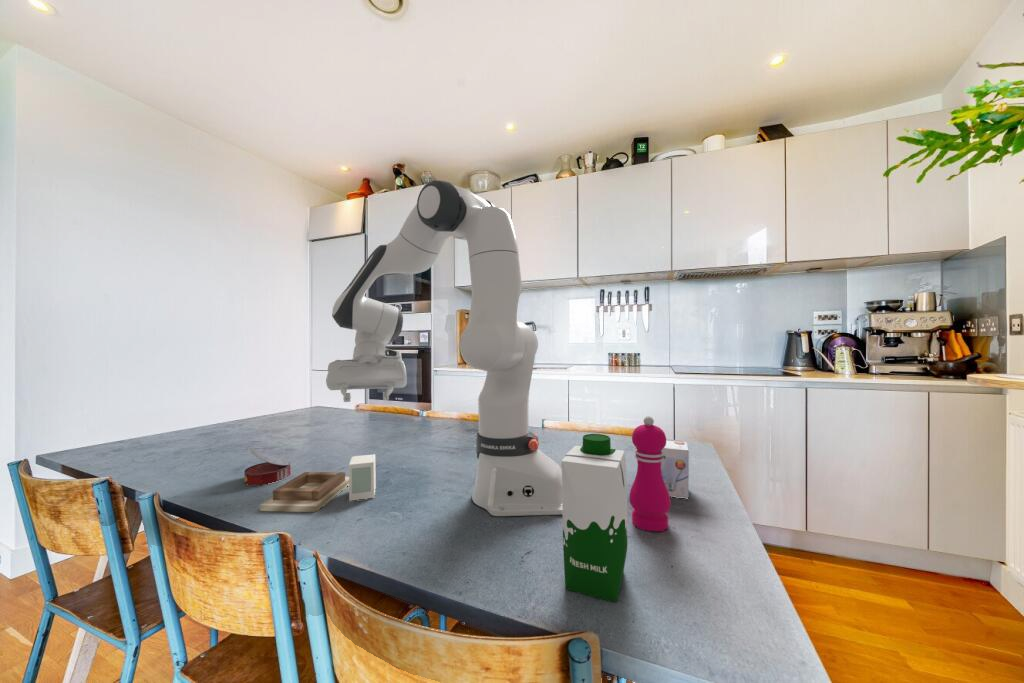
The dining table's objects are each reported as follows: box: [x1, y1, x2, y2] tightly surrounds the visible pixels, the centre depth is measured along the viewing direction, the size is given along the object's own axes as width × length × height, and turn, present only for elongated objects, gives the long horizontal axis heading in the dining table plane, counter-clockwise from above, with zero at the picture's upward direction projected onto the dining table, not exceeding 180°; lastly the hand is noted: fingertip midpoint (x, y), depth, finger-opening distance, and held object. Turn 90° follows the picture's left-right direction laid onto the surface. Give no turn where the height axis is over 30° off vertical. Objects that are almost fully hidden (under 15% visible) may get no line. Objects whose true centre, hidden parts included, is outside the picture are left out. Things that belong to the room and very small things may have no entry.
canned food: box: [243, 446, 291, 486], centre depth 94 cm, size 11×10×10 cm
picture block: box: [348, 453, 377, 501], centre depth 83 cm, size 5×6×8 cm
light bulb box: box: [661, 440, 690, 498], centre depth 83 cm, size 11×7×11 cm, turn 68°
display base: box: [259, 471, 349, 513], centre depth 83 cm, size 12×16×3 cm
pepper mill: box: [628, 416, 672, 532], centre depth 69 cm, size 7×7×20 cm
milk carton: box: [561, 433, 628, 603], centre depth 53 cm, size 9×9×20 cm
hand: (366, 399), depth 95 cm, fingers open, 8 cm apart
